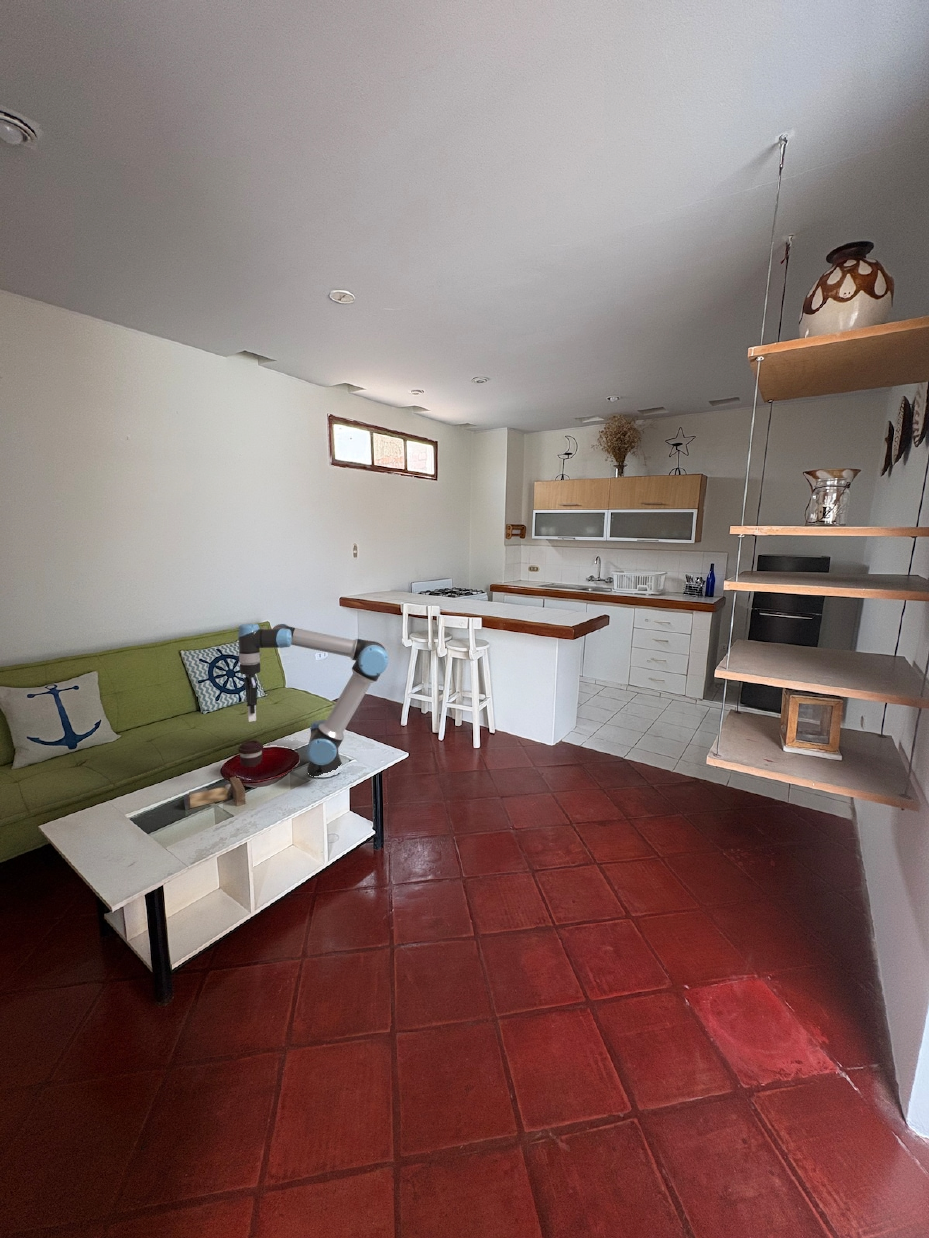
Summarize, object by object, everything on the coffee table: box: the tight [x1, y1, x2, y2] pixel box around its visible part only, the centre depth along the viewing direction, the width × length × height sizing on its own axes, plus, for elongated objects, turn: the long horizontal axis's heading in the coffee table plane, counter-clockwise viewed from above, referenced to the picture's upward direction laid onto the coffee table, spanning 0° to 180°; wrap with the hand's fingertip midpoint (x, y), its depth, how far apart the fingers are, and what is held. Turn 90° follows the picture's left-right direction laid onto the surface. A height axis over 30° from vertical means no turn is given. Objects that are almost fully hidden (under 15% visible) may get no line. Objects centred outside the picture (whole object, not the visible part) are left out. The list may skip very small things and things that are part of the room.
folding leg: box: [183, 783, 232, 810], centre depth 189 cm, size 16×3×5 cm, turn 125°
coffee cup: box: [237, 739, 264, 767], centre depth 213 cm, size 10×10×15 cm
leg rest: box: [188, 787, 208, 795], centre depth 190 cm, size 6×3×4 cm, turn 125°
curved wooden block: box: [229, 775, 246, 807], centre depth 193 cm, size 3×14×6 cm, turn 35°
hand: (252, 720), depth 197 cm, fingers closed
